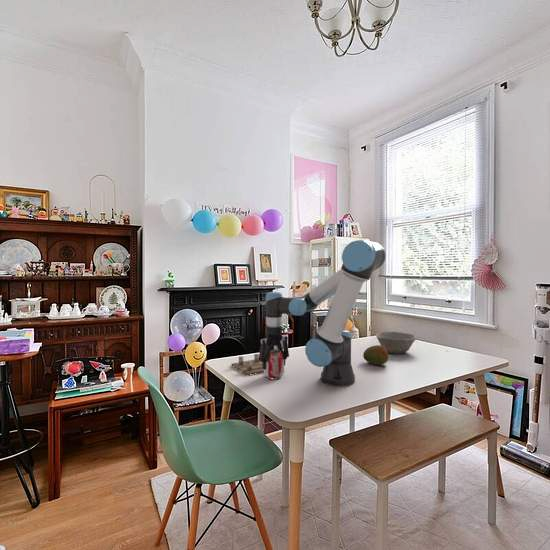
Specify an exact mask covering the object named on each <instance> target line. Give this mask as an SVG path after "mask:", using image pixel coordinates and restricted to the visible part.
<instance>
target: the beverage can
mask: <svg viewBox="0 0 550 550" xmlns="http://www.w3.org/2000/svg"><path fill="white" fill-rule="evenodd" d="M267 362H268V377H269V378H273V379H272V380H277V379H276V378H279V379H281V378H282V377H283V375H284V373H283V355H282V353H281V351H280V350H278V349H271V351H270V354H269V357H268V359H267ZM268 377H267V378H268ZM280 377H281V378H280ZM269 378H268V379H269Z"/></svg>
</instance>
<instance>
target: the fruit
mask: <svg viewBox="0 0 550 550" xmlns="http://www.w3.org/2000/svg"><path fill="white" fill-rule="evenodd" d="M362 357H363V359H364V361H366V362H367V363H370V364H372V365H377V366H378V365H379V366H381V365H384V364H386V363H387V362H388V359H389V352H387V350H386V348H385V347H383V346H381V345H380V344H378V345H371V346H370V347H369V346H368V347H367V348H366V349H365V350H364V352H363V355H362Z"/></svg>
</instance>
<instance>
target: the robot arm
mask: <svg viewBox="0 0 550 550" xmlns="http://www.w3.org/2000/svg"><path fill="white" fill-rule="evenodd" d="M386 256H387V255H386V250H385V249H384V247H383V246H382V245H381V244H379V243H378V242H375V241H369V240H366V239H357V240H353V241H351V242H349V243H348V244H347V245H346V246H345V247H344V249H343V251H342V253H341V261H342V265H341V268H340V269H339V270H337V272H335V273H334V274H332V275H331V276H330V277H328V278H327V279H325V280H323V282H321V283H320V284H318V285H317V286H315V287H314V288H312V289H311V290H310V291H309V292H307V293H306V294H304V295H302V296H296V297H295V296H294V297H283V293H282V292H279V291H275V292H274V291H271V292H267V293H266V295H265V314H266V315H265V325H266V326H265V334H266V335H265V338H261V339H260V340H259V344H260V347H259V353H258V354H259V361H261V362H262V365H263V367H262V368H263V369H264V373H263V376H264V377H267V378H268V362H267V359H268V357H269V354H270V351H271V350H273V347H277V350H280V351H281V353H282V355H283V374H285V366H286V360H288V359H287V358H289V357H290V352H289V346H288V336H285V335H283V326H282V325H283V315H291V316H303V315H305V313H307V312H313V311H314V310H317V309H318V307H319V306H320V305H321V304H322V303H324V302H325V301H327V300H328V299H330V298H331V297H332V296H333V298H332V301H331V302H330V305H329V308H328V310H327V313H326V315H325V317H324V321H323V323H322V325H321V326H320V327H317V328H316V331H315V332H314V335H313V337H312V339H309V340H308V341H307V343H306V344H305V347H304V350H305V351H304V352H305V355H306V358H307V360H308V362H310V363H311V364H312V365H314V366H315V367H318V368H320V367H321V368H322V371H321V374H320V380H321V382H323V383H325V384H327V385H331V386H340V387H341V386H350V385H353V384H354V383H355V382H356V376H355V373H354V368H353V365H352V333H351V331H350V330H348V329H345V327H346V326H347V323H348V320H349V318H350V316H351V313H352V310H353V309H354V307H355V305H356V304H355V303H356V301H357V299H358V297H359V294H360V292H361V289H362V287H363V285H364V283H365V282H367V281H369V280H370V279H371V277H372V274H373V272H375V271H376V270H378V269H380V268H381V267H382V266H383V265H384V263H385V262H386ZM281 341H282V342H281Z"/></svg>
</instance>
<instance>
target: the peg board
mask: <svg viewBox="0 0 550 550" xmlns="http://www.w3.org/2000/svg"><path fill="white" fill-rule="evenodd" d="M253 358H254V359H251V360H250V359H249V360H244V356H238V362H234V363H231V364H230V365H232V366H234V367H235V368H237V369H238V370H240V371H242V372H243V373H245V374H246V375H245V374H244V375H245V376H247V375H249V376H251V375H250V374H254V375H256V374H255V373H259V374H262V373H261V372H264V369H263V368H262V367H263V365H262V362H261V361H259V353H254V357H253ZM232 366H231V367H232ZM234 367H233V368H234ZM235 368H234V369H235ZM237 369H236V370H237ZM238 370H237V371H238ZM240 371H239V372H240ZM242 372H241V373H242ZM243 373H242V374H243Z"/></svg>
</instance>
